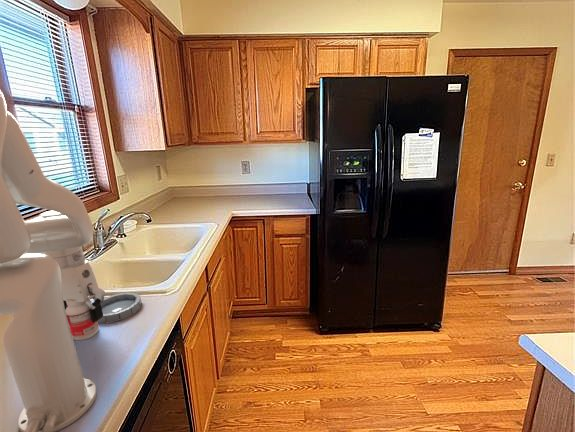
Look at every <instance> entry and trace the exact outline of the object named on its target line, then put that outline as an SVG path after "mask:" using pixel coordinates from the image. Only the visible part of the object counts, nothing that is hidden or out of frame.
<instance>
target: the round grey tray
mask: <svg viewBox="0 0 575 432" xmlns="http://www.w3.org/2000/svg"><path fill="white" fill-rule="evenodd" d="M141 306H142V299H141V295H139V294H138V293H135V292H123V293H117V294H113V295H111V296H110V295H109V296H108V297H107V296H106V297H104V300H103V301H102V303H101V308H102V312H103V317H102V318H100V319H99V320H98V321H97V322H98V323H101V324H102V323H103V324H107V323H113V322H118V321H119V322H120V321H122V320H124V319H126V318H128V317H130V316H132V315H134V314H135V313H137V312H138V311H139V310H140V309H141Z"/></svg>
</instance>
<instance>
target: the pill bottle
mask: <svg viewBox="0 0 575 432" xmlns="http://www.w3.org/2000/svg"><path fill="white" fill-rule="evenodd" d="M88 297H89V296H88ZM88 297H87V298H88ZM66 303H67V306H68V307H67V308H66V310H65V312H66V316H67V320H68V323H69V327H70V330H71V334H72V337H73V340H76V341H85V340H87V339H89V338H92V337H93V336H94V335H96V334H97V333H98V332H99V328H100V326H99V324H98V323H99V322H97V321H96V322H95V323H93V322H92V320H91V316H90V313H89V309H90V307H89V306H88V305H87V304H86V303H85V302H76V301H71V300H66Z"/></svg>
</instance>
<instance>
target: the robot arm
mask: <svg viewBox="0 0 575 432" xmlns="http://www.w3.org/2000/svg"><path fill="white" fill-rule="evenodd" d="M18 205H21V206H26V207H31V208H39V209H44V210H45V209H46V210H48V211H44V212H42V213H39V214H38V215H37V217H35V218H33V219H28V220H24V218H23V216H22V213H21V211H20V209H19V208H18ZM89 215H90V214H89V212H88V211H87V208H86V205H85V204H84V202H83V200H81V198H80V197H79V196H78V195H77V194H76V193H74V192H73V191H72V190H70V189H68V188H67V187H65V186H64V185H62V184H60V183H59V182H57V181H54V180H52V179H50V178H48V177H46V176H45V175H44V173H43V170H42V169H41V166H40V165H39V162H38V161H37V157H35V154H34V153H33V150H32V148H31V146H30V144H29V142H28V140H27V138H26V136H25V134H24V132H23V129H22V128H21V126H20V124H19V122H18V120H17V119H16V117H15V116H14V115H13V114H12V113H11V112H10V111H8V108H7V102H6V99H5V97H4V94H3V92H2V91H1V90H0V316H4V315H12V316H13V318H12V320H11V321H10V322H9V323H8V325H7V327H6V328H5V330H4V332H3V334H2V347H3V349H4V352H5V354H6V358H7V360H8V364H9V366H10V369H11V373H12V374H13V377H14V380H15V383H16V387H17V389H18V392H19V395H20V399H21V401H22V404H23V406H24V408H23V409H22V410H21V412H20V413H19V417H18V418H17V426H18V429H19V430H20V432H58V431H60V430H62V429H63V428H65V427H67V426H70V425H71V424H72V423H74V422H75V421H77V420H79V419H80V418H81V416H83V415H84V414H85V413H86V412H87V411H88V410H89V409H90V408H91V407H92V405H93V404H94V402H95V401H96V398H97V393H98V389H97V386H96V384H95V382H94V381H93V380H90V379H87V378H84V374H83V371H82V367H81V363H80V360H79V357H78V356H79V355H78V353H77V349H76V345H75V342H74V339H73V337H72V334H71V330H70V327H69V323H68V320H67V316H66V312H65V310H66V308H67V307H68V306H67V303H66V300H71V301H76V302H85V303H86V304H87V305H88V306H89V307H90V309H89V313H90V316H91V320H92V322H93V323H95V322H96V321H98V320H99V319H100V318H102V317H103V312H102V308H101V303H102V301H103V300H104V299H105V294H106V292H105V290H103V289H102V288H100V287H99V285H98V282H97V279H96V276H95V273H94V271H93V269H92V266H91V264H90V263H89V261H88V260H86V256H85V253H84V250H83V246H86V245H88V244H90V243H91V241H92V240H93V238H94V226H93V223H92V221H91V218H90V216H89ZM87 297H88V298H87ZM92 299H93V300H94V301H92Z"/></svg>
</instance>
